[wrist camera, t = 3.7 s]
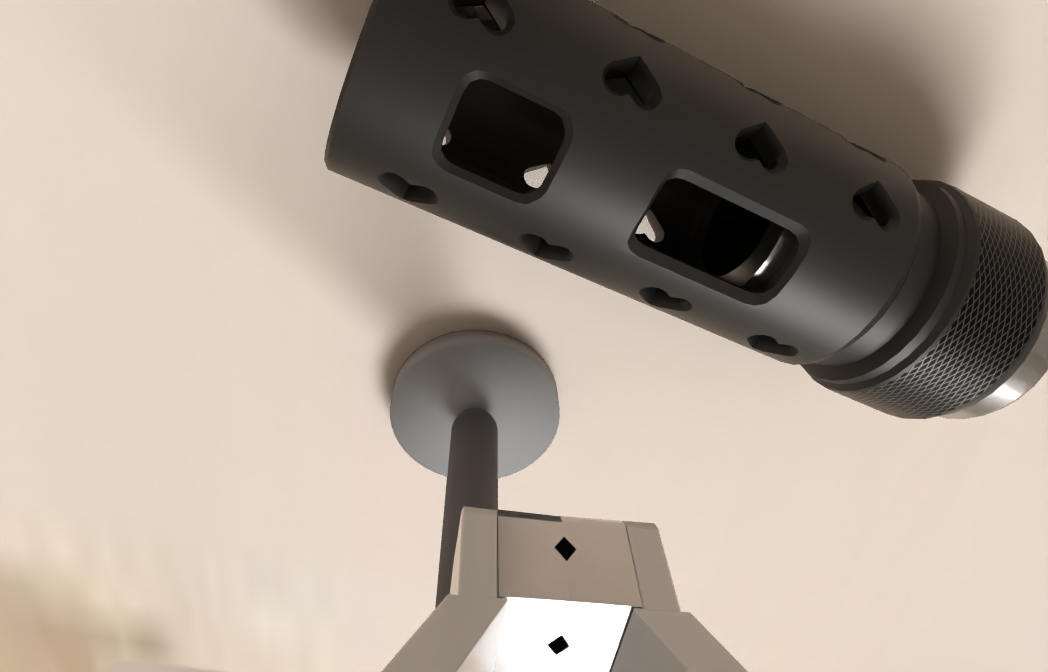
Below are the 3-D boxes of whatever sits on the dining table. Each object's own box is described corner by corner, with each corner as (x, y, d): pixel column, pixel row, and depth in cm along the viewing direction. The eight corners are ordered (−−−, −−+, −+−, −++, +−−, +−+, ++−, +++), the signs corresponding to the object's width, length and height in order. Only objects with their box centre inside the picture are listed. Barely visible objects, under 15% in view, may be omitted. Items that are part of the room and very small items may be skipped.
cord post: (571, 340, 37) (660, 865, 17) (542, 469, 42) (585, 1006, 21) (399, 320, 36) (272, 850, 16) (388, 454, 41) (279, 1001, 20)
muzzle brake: (434, -100, 27) (403, -103, 18) (980, 196, 34) (1149, 297, 25) (354, 128, 31) (298, 215, 23) (852, 349, 38) (958, 482, 30)
